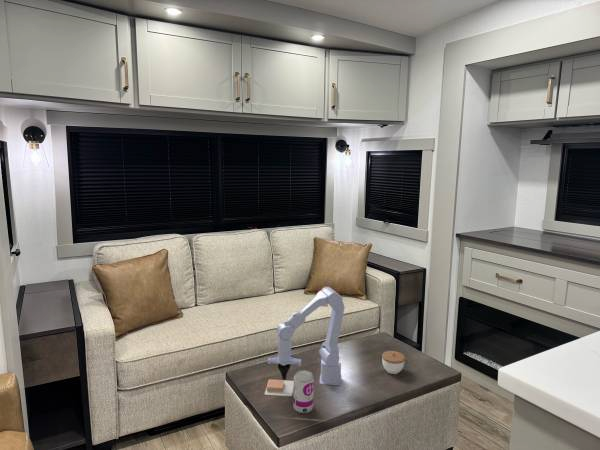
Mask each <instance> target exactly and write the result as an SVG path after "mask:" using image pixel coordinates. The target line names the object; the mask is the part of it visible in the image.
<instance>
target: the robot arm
mask: <svg viewBox="0 0 600 450" xmlns="http://www.w3.org/2000/svg"><path fill="white" fill-rule="evenodd" d="M343 300H344V299H343V296H342V295H340V293H338V292H337V291H336V290H334V289H333V288H332V287H330V286H324V287H322V289H321V290H319V291H318V292H317V293H316V296H315V297H314V298H313V299H312V300H311V301H309V303H307V304H306V306H305V307H304V308H302V309H301V310H300V311H295V312H293V313H292V314H291V315H290V316H289V318H287V319H286V320H284V321H283V322H281V323H279V324H278V325H277V327H276V329H275V331H276V333H277V334H278V335H277V337H278V338H277V339H278V340H277V356H275V357H268V359H267V363H268V365H270V364H277V369H278V371H279V372H280V374H281V378H282V380H287V375H288V372H289V370H290V369H291V365H298V366H302V359H301V358H295V357H292V338H293V336H294V333H295V331H296V330H298V328H300V327H301V326H302V325H303V324H304V323H305V322H306V318H307V317H308V316H309V315H310V314H312V313H314V312H315V311H316V310H317V309H318V308H320V307H324V308H326V307H327V308H328V307H330V308H331V313H330V318H329V322H328V323H329V324H328V328H327V333H326V338H325V341H323V342H322V345H321V347H320V348H319V351H318V353H319V356H320V358H321V361H320V375H319V384H321V385H330V386H341V381H342V363H341V362H340V356H339V353H340V350H339V346H338V342H339V337H340V333H341V328H342V323H343V317H344V312H345V308H346V307H345V305H344V304H345V303H344V302H343Z"/></svg>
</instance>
